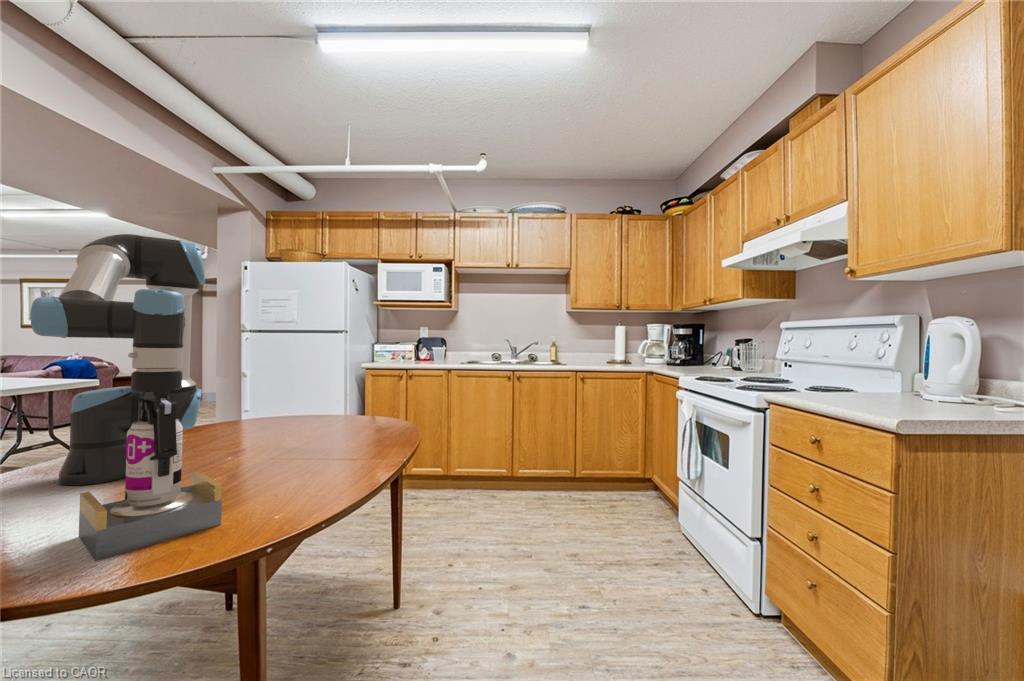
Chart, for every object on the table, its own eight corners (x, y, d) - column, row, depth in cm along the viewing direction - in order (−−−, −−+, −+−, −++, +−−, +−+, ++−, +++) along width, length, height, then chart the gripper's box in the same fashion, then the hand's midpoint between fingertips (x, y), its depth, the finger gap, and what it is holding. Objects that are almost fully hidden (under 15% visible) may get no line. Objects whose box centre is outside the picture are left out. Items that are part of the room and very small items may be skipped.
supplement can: (148, 509, 75) (151, 427, 75) (112, 505, 77) (115, 424, 77) (191, 494, 83) (193, 419, 83) (158, 490, 85) (160, 416, 85)
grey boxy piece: (78, 536, 77) (80, 493, 77) (195, 507, 91) (196, 470, 91) (95, 561, 69) (96, 512, 69) (220, 524, 83) (222, 484, 83)
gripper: (117, 367, 83) (114, 480, 83) (148, 374, 71) (144, 506, 71) (164, 366, 90) (161, 472, 89) (201, 372, 77) (197, 494, 77)
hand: (154, 487), depth 80 cm, fingers closed on supplement can, 8 cm apart
